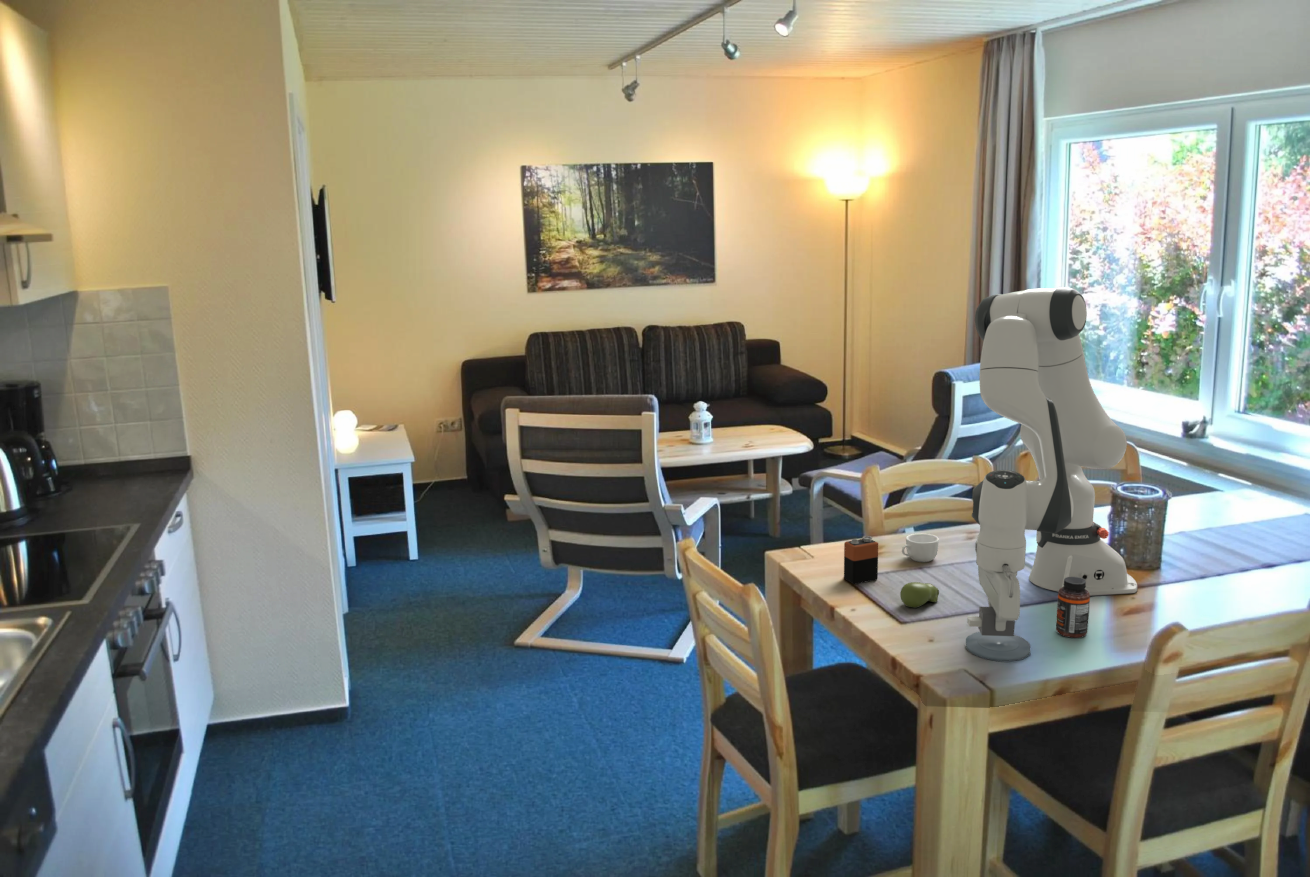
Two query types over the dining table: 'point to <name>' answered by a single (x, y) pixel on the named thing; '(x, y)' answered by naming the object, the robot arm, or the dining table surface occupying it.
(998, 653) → the plate
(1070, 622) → the supplement bottle
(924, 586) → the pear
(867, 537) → the battery
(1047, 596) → the dining table surface
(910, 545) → the teacup
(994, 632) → the block
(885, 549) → the dining table surface
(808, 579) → the dining table surface
